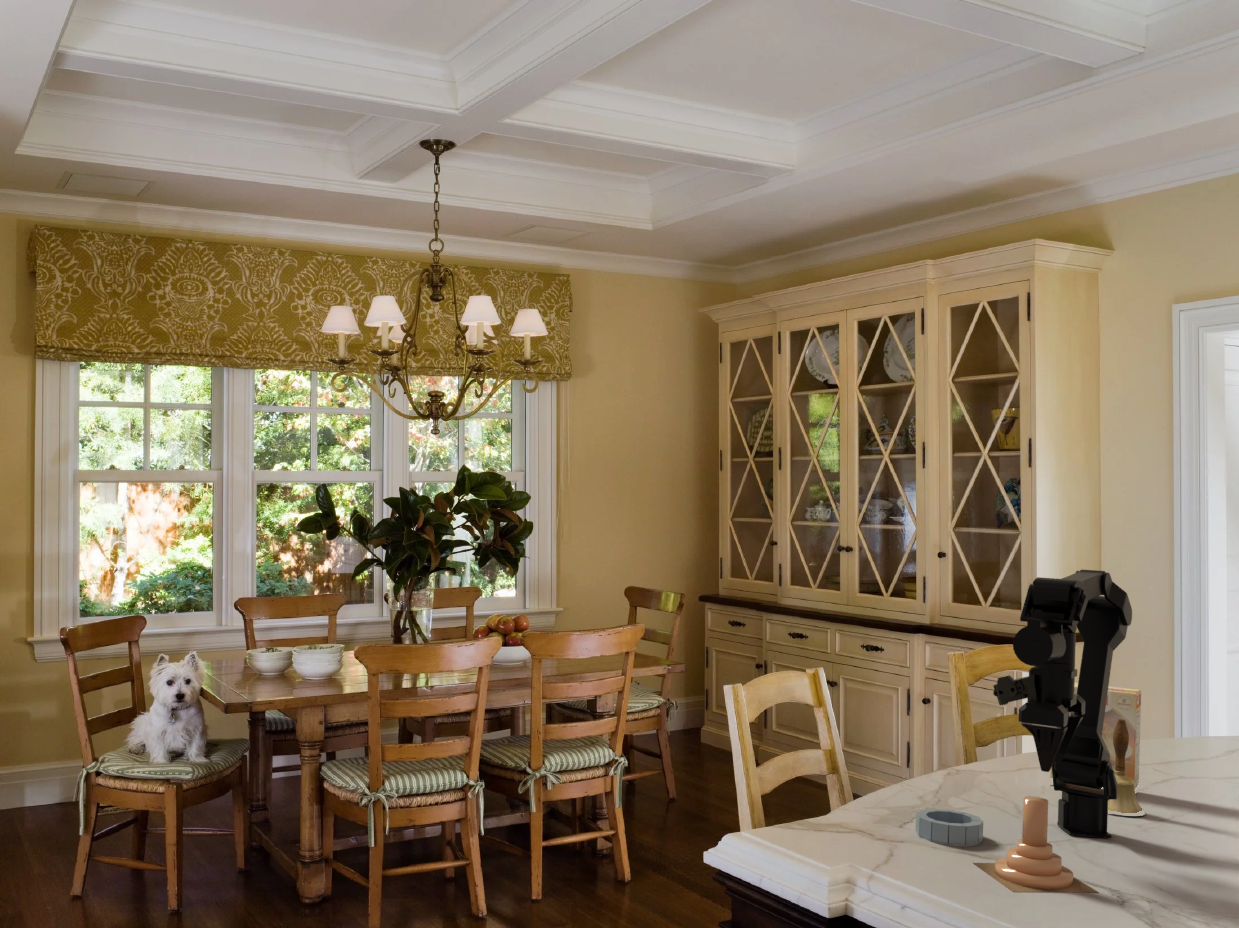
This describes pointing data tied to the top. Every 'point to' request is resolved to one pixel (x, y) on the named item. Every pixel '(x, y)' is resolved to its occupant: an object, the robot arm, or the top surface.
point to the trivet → (1075, 888)
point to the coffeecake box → (1129, 709)
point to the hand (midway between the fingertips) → (1051, 766)
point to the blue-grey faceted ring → (949, 827)
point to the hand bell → (1122, 773)
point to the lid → (1034, 853)
